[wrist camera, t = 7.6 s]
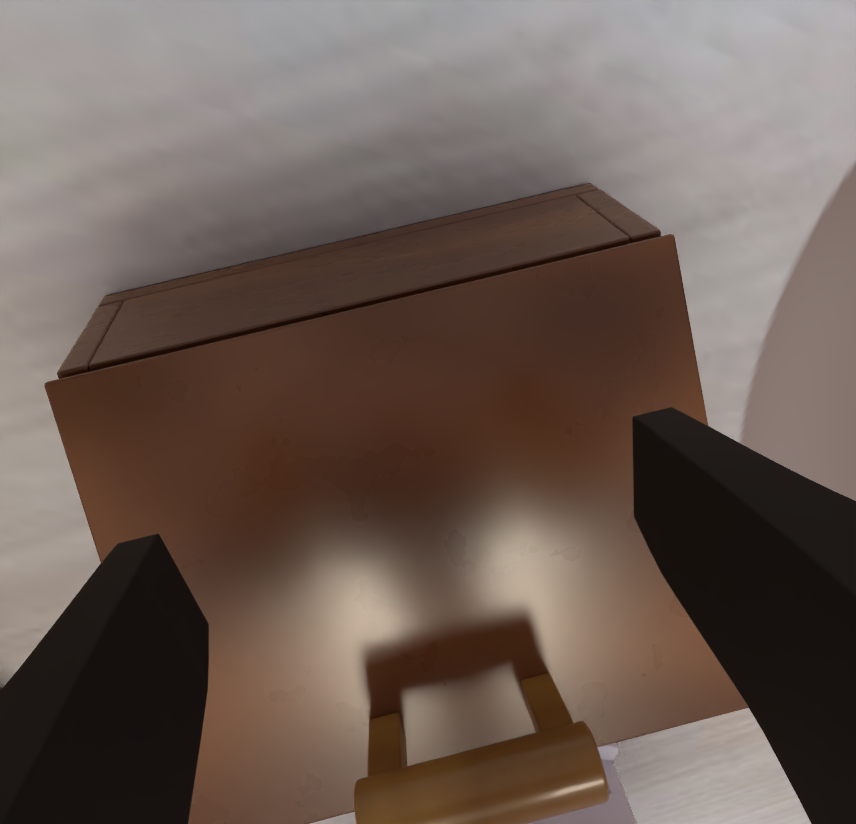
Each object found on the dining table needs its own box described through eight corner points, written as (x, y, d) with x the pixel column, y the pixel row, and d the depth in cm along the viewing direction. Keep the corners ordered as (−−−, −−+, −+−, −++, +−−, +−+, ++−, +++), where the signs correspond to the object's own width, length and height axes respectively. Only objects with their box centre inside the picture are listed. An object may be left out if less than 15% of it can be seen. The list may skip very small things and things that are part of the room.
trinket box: (604, 475, 24) (658, 561, 21) (235, 567, 24) (223, 672, 20) (591, 181, 18) (661, 229, 15) (103, 295, 18) (54, 373, 14)
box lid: (746, 692, 16) (861, 809, 12) (199, 835, 16) (139, 1005, 12) (663, 236, 15) (766, 204, 11) (55, 380, 14) (-68, 402, 10)
